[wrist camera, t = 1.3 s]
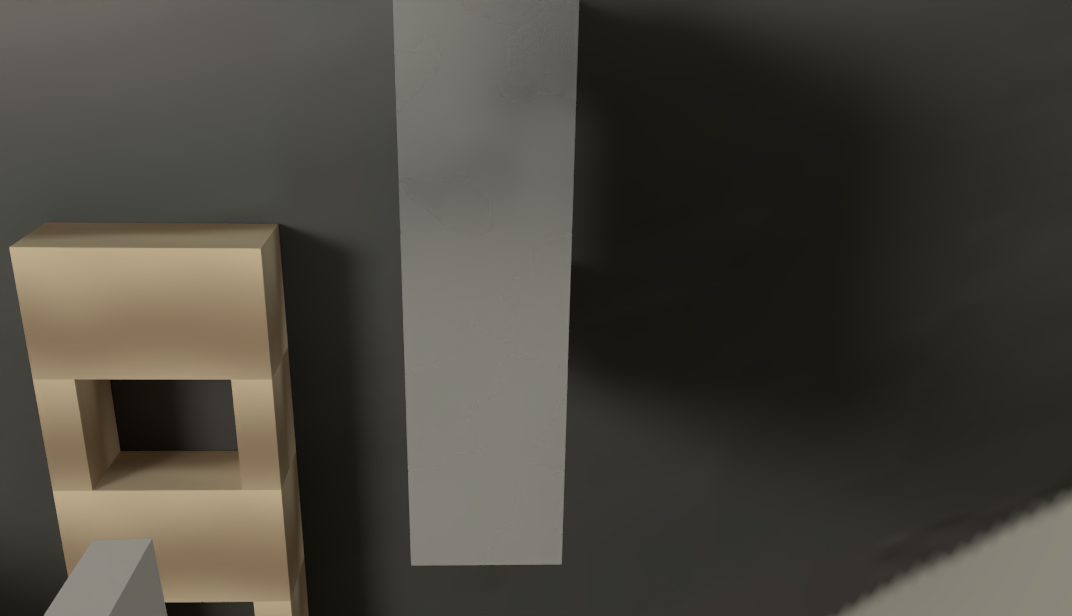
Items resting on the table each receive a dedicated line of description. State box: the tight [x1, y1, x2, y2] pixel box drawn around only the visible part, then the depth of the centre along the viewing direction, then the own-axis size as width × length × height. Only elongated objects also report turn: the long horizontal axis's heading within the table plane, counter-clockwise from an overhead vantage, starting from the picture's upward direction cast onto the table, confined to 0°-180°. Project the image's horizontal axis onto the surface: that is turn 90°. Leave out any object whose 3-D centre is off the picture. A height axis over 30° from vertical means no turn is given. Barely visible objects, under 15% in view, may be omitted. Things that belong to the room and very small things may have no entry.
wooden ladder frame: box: [9, 222, 309, 616], centre depth 33 cm, size 20×7×2 cm, turn 179°
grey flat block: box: [393, 0, 579, 565], centre depth 25 cm, size 12×3×12 cm, turn 179°
